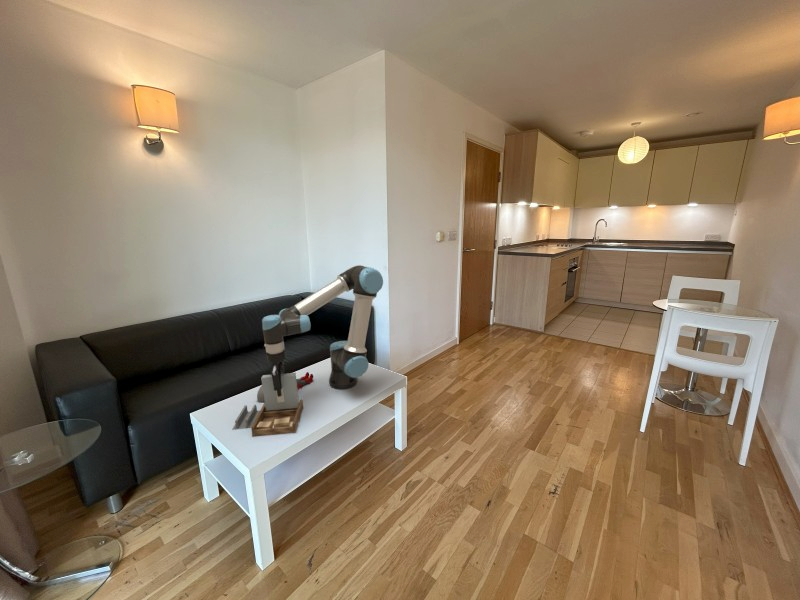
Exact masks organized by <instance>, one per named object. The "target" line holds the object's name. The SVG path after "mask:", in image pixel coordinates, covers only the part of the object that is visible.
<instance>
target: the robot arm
mask: <svg viewBox="0 0 800 600" xmlns="http://www.w3.org/2000/svg"><path fill="white" fill-rule="evenodd" d="M383 278H384V277H383V276H382V274H381V272H380V271H379V270H377V269H376V268H374V267H369V266H364V265H361V264H359V265H354V266H352V267H350V268H348V269H347V270H344V271H343V272H342V273H340V274H339V275H337V277H336V278H335V279H334V280H333V281H331V282H329V283H328V284H326V285H325V286H323V287H321V288H320V289H318V290H317V291H315V292H313V293H312V294H310V295H309V296H307V297H306V298H304V299H303V300H301V301H299V302H297V303H296V304H295V305H292V306H291V307H289V308H284V309H281V310H280V311H279V312H278V314H270V315H267V316H264V317H263V318H262V319H261V323H262V324H261V325H262V329H261V330H262V332H263V339H264V345H263V347H265V353H266V360H267V362H268V363H271V370H270V375H272V380H273V386H274V391H276V394H277V401H278V402H284V394H283V388H282V384H281V374H285V363H284V362H285V361H284V360H285V359H286V350H285V342H284V337H287V336H291V335H296V334H303V333H306V332H308V331H310V330H311V326H312V325H311V321H310V317H309V315H310V314H312V313H314V312H315V311H317V310H318V309H320V308H321V307H323V306H324V305H326V304H327V303H329V302H331V301H332V300H334V299H336V298H337V297H339V296H340V295H341V294H343V293H345V292H346V293H348V292H350V291H352V294H353V296H354V303H353V307H352V312H351V313H352V315H351V318H350V319H351V320H350V326H349V332H348V337H347V340H339V341H335V342H333V343H331V344H330V346H329V352H330V353H329V354H330V355H329V356H330V367H331V371H330V376H329V379H328V383H329V384H328V385H329V386H330V388H332V389H336V390H345V389H350V388H353V387H355V386H356V384H357V383H358V378H360V377H361V376H363V375H364V374H365V373H367V371H368V368H369V361H368V358H367V352H368V350H367V348H366V339H367V333H368V328H369V322H370V318H371V317H370V316H371V311H372V307H373V306H372V305H373V300H374V299H375V298H377V296H378V293H379V292H380V291H381V289H382V288H383V285H384V279H383Z"/></svg>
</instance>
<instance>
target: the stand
mask: <svg viewBox="0 0 800 600" xmlns="http://www.w3.org/2000/svg"><path fill="white" fill-rule="evenodd" d="M257 408H258V407H257V404H254V405H253V406H252V408H251V410H250V411H248V405H244V406H243V408H242V410H241V411H240V413H239V414H238V416H237V418H236V419H235V422H234V423H235V424H234V425H233V427H232V429H231V430H232V431H233V430H244V429H251V427H252V425H253V423H254V422H255V420H256V418H257V416H258V414H259V412H260V410H258V409H257Z"/></svg>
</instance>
